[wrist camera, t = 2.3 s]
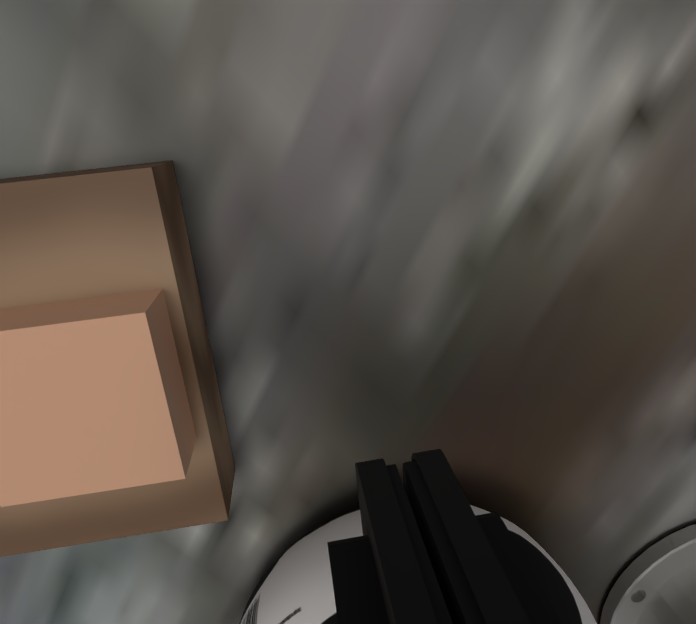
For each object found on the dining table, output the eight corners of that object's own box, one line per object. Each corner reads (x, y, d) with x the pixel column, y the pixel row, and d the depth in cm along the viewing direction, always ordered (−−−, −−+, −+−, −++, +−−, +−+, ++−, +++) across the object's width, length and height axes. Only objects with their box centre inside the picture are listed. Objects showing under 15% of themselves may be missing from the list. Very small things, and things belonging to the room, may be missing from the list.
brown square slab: (235, 468, 25) (227, 520, 22) (-79, 516, 24) (-136, 578, 21) (172, 160, 20) (151, 167, 17) (-222, 203, 19) (-326, 219, 16)
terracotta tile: (196, 438, 20) (185, 478, 18) (34, 462, 20) (0, 506, 18) (162, 288, 18) (145, 312, 16) (-20, 311, 18) (-65, 339, 16)
